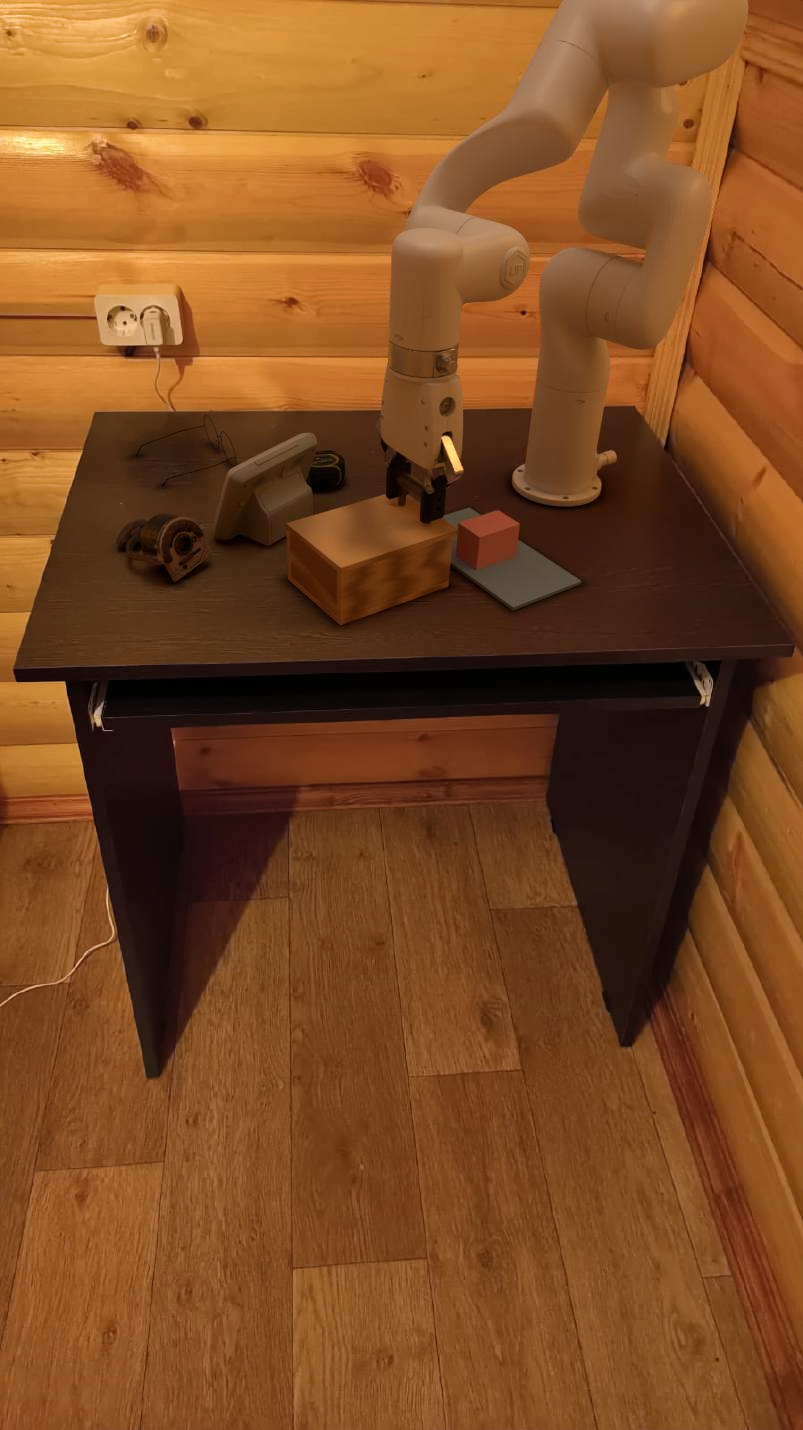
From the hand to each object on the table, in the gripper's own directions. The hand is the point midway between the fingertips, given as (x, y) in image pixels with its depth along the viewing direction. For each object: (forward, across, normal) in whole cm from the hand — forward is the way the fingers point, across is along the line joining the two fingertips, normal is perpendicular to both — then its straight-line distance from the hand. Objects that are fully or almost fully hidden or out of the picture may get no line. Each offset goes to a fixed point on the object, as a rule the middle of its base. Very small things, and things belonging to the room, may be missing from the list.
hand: (414, 506), depth 121 cm
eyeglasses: (+9, +40, +10) cm, 42 cm away
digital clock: (+9, +19, +9) cm, 23 cm away
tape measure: (+9, +26, -3) cm, 28 cm away
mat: (+9, -3, -10) cm, 14 cm away
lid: (+2, 0, +6) cm, 6 cm away
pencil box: (+9, 0, +6) cm, 11 cm away
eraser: (+8, -3, -9) cm, 13 cm away
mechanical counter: (+9, +18, +24) cm, 32 cm away
